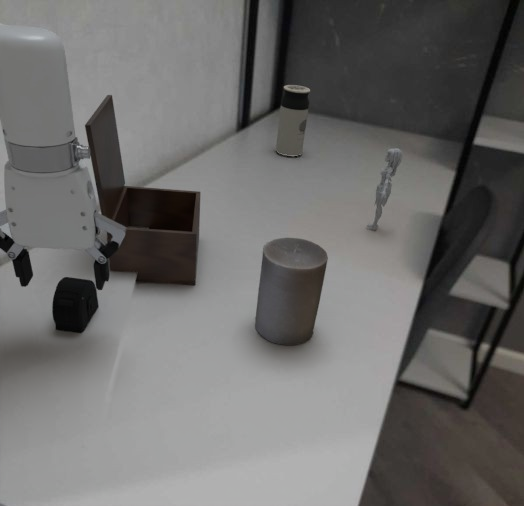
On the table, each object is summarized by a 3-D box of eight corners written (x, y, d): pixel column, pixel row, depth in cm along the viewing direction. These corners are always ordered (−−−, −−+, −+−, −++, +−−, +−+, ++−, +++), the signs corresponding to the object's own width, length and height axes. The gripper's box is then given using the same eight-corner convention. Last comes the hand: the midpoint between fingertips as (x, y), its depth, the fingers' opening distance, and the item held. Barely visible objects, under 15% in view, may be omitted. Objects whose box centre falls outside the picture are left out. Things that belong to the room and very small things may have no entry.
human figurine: (370, 217, 124) (389, 139, 113) (386, 220, 123) (406, 143, 112) (362, 237, 115) (382, 154, 104) (379, 241, 114) (401, 158, 103)
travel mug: (270, 151, 157) (277, 85, 146) (288, 147, 161) (296, 83, 150) (288, 159, 152) (297, 92, 141) (307, 155, 157) (317, 90, 146)
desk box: (199, 238, 106) (200, 191, 100) (195, 285, 92) (196, 234, 86) (126, 233, 105) (123, 185, 99) (110, 280, 90) (106, 228, 84)
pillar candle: (317, 318, 88) (333, 236, 78) (308, 352, 80) (325, 265, 71) (261, 306, 89) (271, 224, 80) (247, 338, 81) (256, 251, 72)
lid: (112, 94, 89) (107, 94, 89) (90, 125, 74) (84, 125, 74) (125, 183, 99) (121, 183, 99) (108, 225, 84) (103, 225, 84)
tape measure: (74, 312, 82) (68, 267, 77) (102, 315, 82) (97, 271, 77) (35, 371, 70) (25, 322, 65) (67, 375, 70) (59, 327, 65)
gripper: (125, 149, 63) (133, 272, 74) (-24, 138, 62) (6, 266, 72) (115, 170, 57) (126, 301, 68) (-50, 159, 56) (-13, 295, 66)
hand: (64, 283), depth 70 cm, fingers open, 9 cm apart
